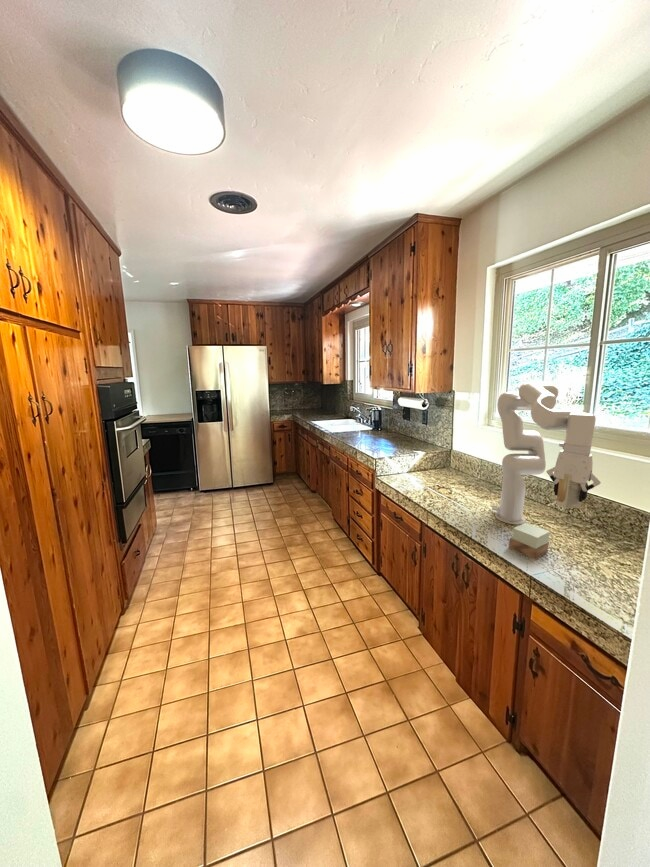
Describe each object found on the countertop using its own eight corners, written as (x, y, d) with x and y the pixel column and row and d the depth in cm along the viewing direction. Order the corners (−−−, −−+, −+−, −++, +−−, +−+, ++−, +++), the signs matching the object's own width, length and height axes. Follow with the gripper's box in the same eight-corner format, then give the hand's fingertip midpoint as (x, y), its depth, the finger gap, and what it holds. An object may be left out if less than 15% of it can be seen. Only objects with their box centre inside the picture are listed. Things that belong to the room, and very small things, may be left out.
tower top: (512, 538, 135) (513, 528, 134) (524, 533, 140) (525, 522, 139) (536, 548, 128) (537, 537, 127) (548, 542, 132) (549, 531, 131)
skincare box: (571, 503, 125) (577, 470, 122) (581, 508, 120) (586, 474, 118) (554, 503, 124) (559, 471, 122) (563, 508, 120) (568, 475, 118)
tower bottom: (508, 549, 136) (509, 538, 135) (520, 542, 142) (522, 531, 141) (535, 560, 128) (536, 549, 127) (547, 552, 134) (548, 541, 133)
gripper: (544, 445, 123) (537, 492, 126) (604, 456, 109) (595, 508, 113) (552, 442, 127) (546, 488, 131) (611, 452, 114) (602, 502, 117)
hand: (569, 497), depth 122 cm, fingers closed on skincare box, 6 cm apart
